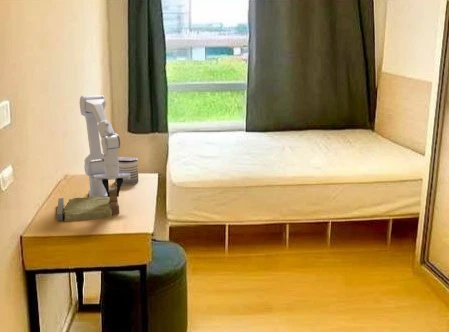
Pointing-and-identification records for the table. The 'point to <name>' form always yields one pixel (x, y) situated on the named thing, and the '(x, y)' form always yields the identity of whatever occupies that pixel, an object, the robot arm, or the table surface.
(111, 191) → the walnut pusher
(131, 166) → the can
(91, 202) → the decorative tile
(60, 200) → the stop rail
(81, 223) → the table surface
